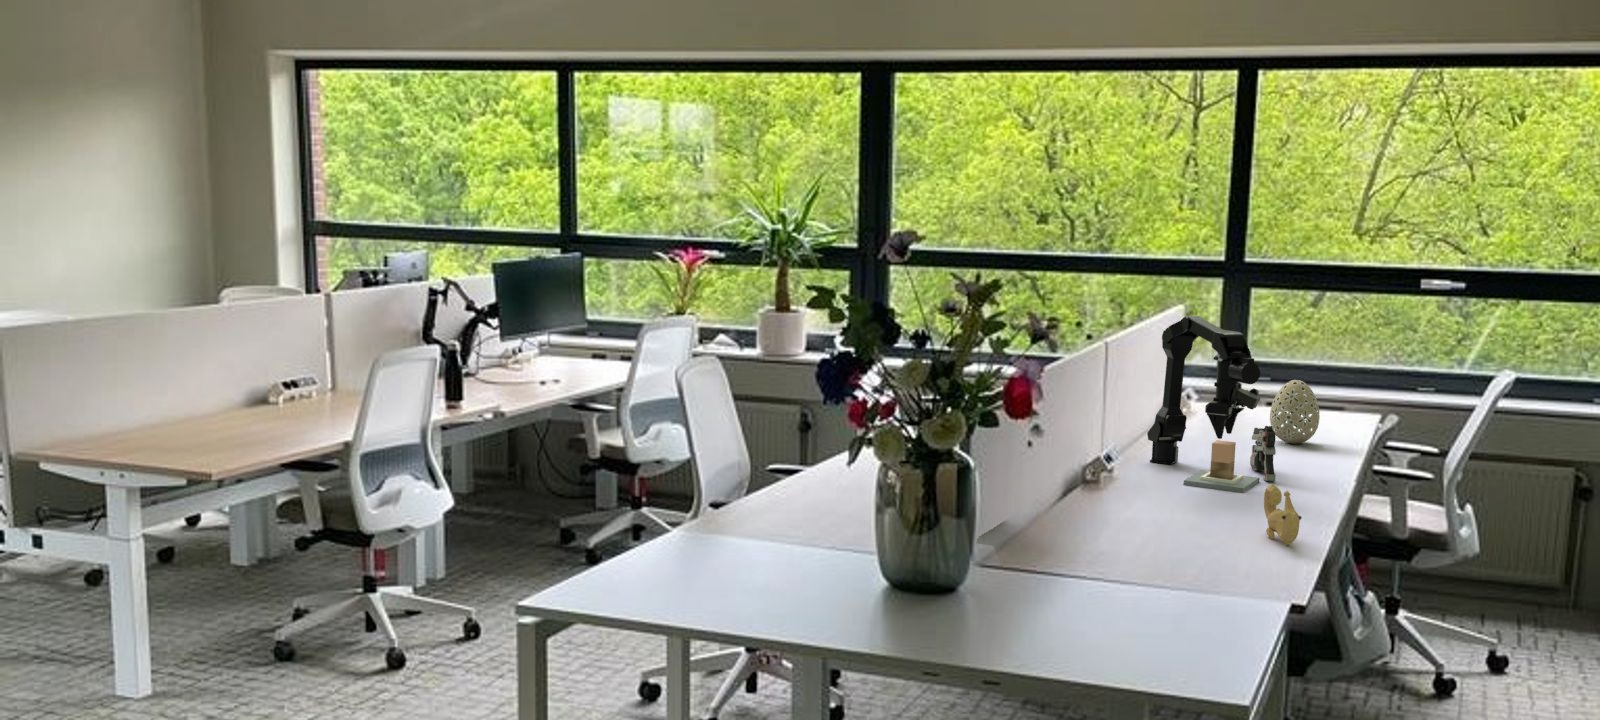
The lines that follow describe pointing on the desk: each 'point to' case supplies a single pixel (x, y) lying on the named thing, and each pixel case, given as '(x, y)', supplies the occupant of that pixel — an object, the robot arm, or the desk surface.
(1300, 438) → the ornament
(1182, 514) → the desk surface
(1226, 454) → the terracotta block
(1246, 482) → the blueprint plate
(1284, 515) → the toy
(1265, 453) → the toy blaster
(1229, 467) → the walnut block
